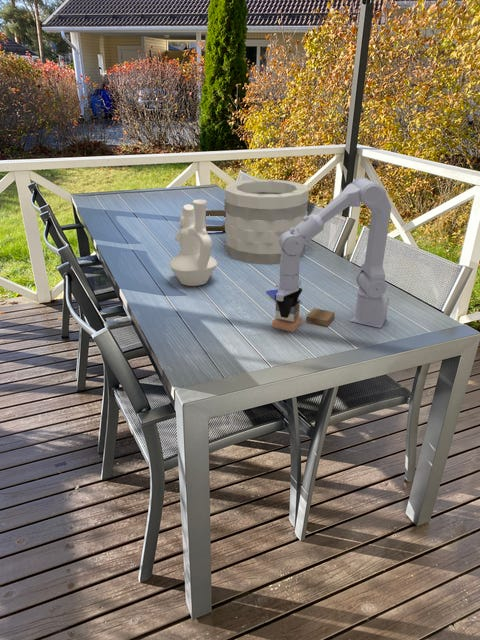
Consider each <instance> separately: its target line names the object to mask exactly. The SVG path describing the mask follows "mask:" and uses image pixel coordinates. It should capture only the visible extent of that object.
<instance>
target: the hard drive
mask: <svg viewBox="0 0 480 640" xmlns="http://www.w3.org/2000/svg"><path fill="white" fill-rule="evenodd" d="M277 293H278V288H277V289H272V290H271V289H270V290H266V292H265V294H266V295H267V296H268V297H269V299H271V300H272V301H273V302H274V303H275V304H276V303H277V302H276V300H275V295H276V294H277ZM297 301H300V305H302V304H303V302H302V301H301V299H299V298H298V300H297Z"/></svg>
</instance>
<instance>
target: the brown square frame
mask: <svg viewBox="0 0 480 640" xmlns="http://www.w3.org/2000/svg"><path fill="white" fill-rule="evenodd" d="M209 215H210V216H224V217H226V211H225V210H224V209H223V210H220V209H212V210H211V209H210V210H209V209H208V210H207V209H206V216H209ZM206 231H225V225H222V226H206Z"/></svg>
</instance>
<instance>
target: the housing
mask: <svg viewBox="0 0 480 640" xmlns="http://www.w3.org/2000/svg"><path fill="white" fill-rule="evenodd" d="M300 301H301V300H300ZM300 301H295V300H293V301H292V303H291V306H290V311H289V315H288V318H284V317H281V315H280V311H279V307H278V304H277V303H275V316H274V317H275V318H278V319H282V320H287V321H291V322H294V321H295V320H296V319H297V318H298V317H300V305H301V304H300ZM275 318H274V319H275Z"/></svg>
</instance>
